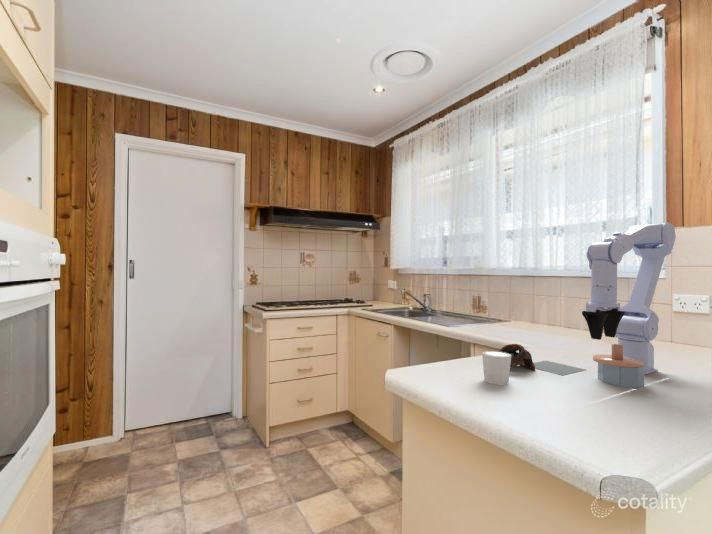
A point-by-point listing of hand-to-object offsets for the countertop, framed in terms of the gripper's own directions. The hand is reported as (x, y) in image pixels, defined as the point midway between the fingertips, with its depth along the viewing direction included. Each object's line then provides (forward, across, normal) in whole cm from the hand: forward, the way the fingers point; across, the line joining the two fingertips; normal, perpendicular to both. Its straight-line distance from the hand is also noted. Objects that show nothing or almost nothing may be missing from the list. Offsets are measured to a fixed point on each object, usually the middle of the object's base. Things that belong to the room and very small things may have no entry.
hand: (603, 337), depth 98 cm
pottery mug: (+11, +14, -16) cm, 24 cm away
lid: (+5, +2, +4) cm, 7 cm away
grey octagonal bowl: (+10, +2, +5) cm, 12 cm away
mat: (+10, +4, -11) cm, 16 cm away
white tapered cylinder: (+11, +28, -12) cm, 33 cm away
